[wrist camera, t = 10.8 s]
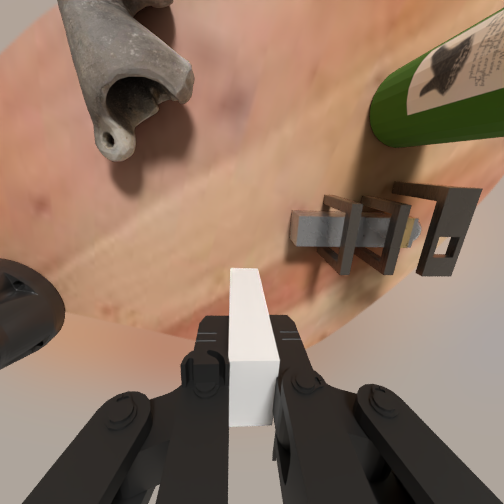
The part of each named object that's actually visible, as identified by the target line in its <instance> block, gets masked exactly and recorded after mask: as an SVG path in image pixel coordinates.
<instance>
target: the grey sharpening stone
mask: <svg viewBox="0 0 504 504" xmlns="http://www.w3.org/2000/svg"><path fill="white" fill-rule="evenodd" d="M390 218H391V214H390V213H387V212H383V213H382V212H362V213H361V218H360V223H359V229H358V234H357V239H356V244H355V247H384V243H385V239H386V235H387V231H388V227H389V222H390ZM344 219H345V212H339V211H297V210H292V214H291V225H290V236H289V238H290V239H291V240H292V242H293V243H294V244H295V245H296V246H316V247H340V242H341V237H342V231H343V225H344ZM418 220H419V219H418V218H415V217H411V216H408V220H407V224H406V228H405V232H404V235H403V239H402V243H401V247H400V248H407V247H411V245H412V241H414V240H416V239H417V238H418V237H419V235H420V233H421V224H420V222H419V221H418Z"/></svg>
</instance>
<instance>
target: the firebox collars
mask: <svg viewBox="0 0 504 504" xmlns="http://www.w3.org/2000/svg"><path fill="white" fill-rule="evenodd" d="M481 192H482V189H481V188H465V187H454V186H444V185H433V184H423V183H412V182H396V181H395V182H394V187H393V191H392V193H394V194H400V195H405V196H411V197H417V198H422V199H428V200H434V201H437V203H436V206H435V209H434V213H433V216H432V219H431V223H430V226H429V229H428V233H427V236H426V239H425V243H424V246H423V249H422V253H421V256H420V259H419V263H418V266H417V269H416V273H417V274H419V275H421V276H451V275H452V272H453V269H454V267H455V264H456V261H457V258H458V255H459V253H460V250H461V247H462V245H463V242H464V239H465V236H466V233H467V230H468V228H469V225H470V222H471V219H472V216H473V214H474V211H475V208H476V206H477V203H478V200H479V197H480V194H481ZM323 204H326V205H328V206H331V207H333V208H335V209H338V210H340V211H342V212H345V219H344V225H343V231H342V237H341V242H340V248H339V254H337V253H336V252H334V251H333V250H332V249H331V248H330V247H317V252H318V253H319V254H320V255H321V256H322V257H323V258H324V259H325V260H326V261H327V263H328V264H329V265H330V266H331V267H332V268H333V269H334V270H335V271H336V272H337V273H338V274H339V275H349V274H350V269H351V264H352V259H353V254H355V255H357V256H358V257H359V258H361V259H362V260H364V261H365V262H366V263H368V264H369V265H370V266H372V267H373V268H375V269H376V270H377V271H379V272H380V273H382V274H383V275H393V273H394V269H395V265H396V262H397V258H398V254H399V250H400V247H401V243H402V239H403V235H404V232H405V228H406V224H407V220H408V216H409V213H410V209H411V205H408V204H403V203H399V202H394V201H390V200H385V199H381V198H376V197H372V196H362V200H361V203H358V202H355V201H351V200H348V199H345V198H341V197H338V196H334V195H324V203H323ZM363 205H364V206H367V207H371V208H374V209H377V210H380V211H384V212H387V213H390V214H391V218H390V222H389V227H388V231H387V235H386V239H385V243H384V247H383V251H382V256H381V257H380V256H379V255H377V254H375V253H374V252H372V251H370V250H369V249H367V248H366V247H355V244H356V239H357V234H358V229H359V223H360V218H361V213H362V208H363ZM439 237H451V239H450V242H449V245H448V248H447V251H446V254H445V255H444V254H443V255H442V254H439V255H438V254H434V252H435V249H436V246H437V243H438V240H439Z"/></svg>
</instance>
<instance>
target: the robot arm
mask: <svg viewBox="0 0 504 504" xmlns="http://www.w3.org/2000/svg"><path fill="white" fill-rule="evenodd" d="M64 319H65V310H64V305H63V302H62V299H61V297H60V295H59V294H58V292H57V290H56V289H55V288H54V287H53V285H52V284H51V283H50V282H49V281H48V280H47V279H46V278H44V277H43V276H42V275H41V274H39V273H38V272H36V271H35V270H33V269H31V268H29V267H27V266H25V265H23V264H20V263H18V262H15V261H11V260H7V259H1V258H0V369H2V368H4V367H6V366H8V365H10V364H12V363H14V362H16V361H18V360H20V359H22V358H24V357H26V356H28V355H30V354H32V353H34V352H36V351H37V350H39V349H41V348H42V347H44V346H45V345H46V344H47V343H48V342H49V341H50V340H51V339H52V338H53V337H55V336H56V335H57V333H58V332H59V331H60V330H61V328H62V326H63V323H64ZM181 380H182V385H181V386H179V387H178V388H177V389H175V390H174V391H173V392H170V393H168V394H165V395H163V396H159V397H156V398H153V399H150V400H149V399H148V398H147V396H146V395H145V394H142V393H140V392H125V393H122V394H118V395H116V396H115V397H113V398H111V399H110V400H108V401H106V402H105V403H104V404H103V405H102V406H101V407H100V408H99V409H98V410H97V411H96V413H95V414H94V415H93V416H92V418H91V419H90V420H89V421H88V423H87V424H86V425H85V426H84V428H83V429H82V430H81V431H80V432H79V434H78V435H77V436H76V438H75V439H74V440H73V441H72V442H71V444H70V445H69V446H68V447H67V448H66V450H65V451H64V452H63V453H62V455H61V456H60V457H59V458H58V460H57V461H56V462H55V463H54V465H53V466H52V467H51V468H50V469H49V471H48V472H47V473H46V474H45V476H44V477H43V478H42V479H41V481H40V482H39V483H38V484H37V486H36V487H35V488H34V489H33V491H32V492H31V493H30V494H29V495H28V497H27V498H26V499H25V500H24V502H23V503H22V504H148V503H149V500H150V498H151V496H152V493H153V491H154V489H155V486H157V485H159V484H160V487H159V491H158V495H157V500H156V504H228V447H229V445H228V444H229V427H239V426H264V425H272V421H273V417H274V423H275V429H276V431H275V439H274V447H273V459H272V460H273V461H276V458H277V465H278V472H279V478H280V486H281V492H282V499H283V504H503V503H502V502H501V501H500V500H499V499H498V498H497V497H496V496H495V495H494V493H493V492H492V491H491V490H490V489H489V488H488V487H487V486H486V485H485V484H484V483H483V482H482V481H481V480H480V479H479V478H478V477H477V476H476V475H475V474H474V473H473V472H472V471H471V470H470V469H469V468H468V467H467V466H466V465H465V464H464V463H463V462H462V461H461V460H460V459H459V458H458V457H457V456H456V455H455V453H453V451H452V450H451V449H450V448H449V447H448V446H447V445H446V444H445V443H444V442H443V441H442V440H441V439H440V438H439V437H438V436H437V435H436V434H435V433H434V432H433V431H432V430H431V429H430V428H429V427H428V426H427V425H426V424H425V423H424V422H423V421H422V420H421V419H420V418H419V417H418V416H417V414H416V413H415V412H414V411H413V410H412V409H410V407H409V406H408V405H407V404H406V403H405V402H404V401H403V400H402V399H401V398H400V397H398V396H397V395H396V394H395V393H394V392H392V391H391V390H389V389H387V388H385V387H382V386H379V385H375V384H365V385H363V386H362V387H360V388H359V390H358V393H357V394H355V393H352V392H348V391H344V390H340V389H337V388H334V387H332V386H330V385H328V384H326V382H325V381H324V379H323V378H322V376H321V375H319V374H318V373H317V372H316V371H314V370H313V368H312V366H311V364H310V361H309V359H308V356H307V353H306V351H305V348H304V345H303V343H302V340H301V338H300V335H299V333H298V330H297V328H296V325H295V322H294V321H293V320H292V319H291V318H290V317H288V316H287V315H269V313H268V309H267V305H266V301H265V297H264V293H263V288H262V284H261V280H260V276H259V272H258V269H254V268H230V307H229V316H205V318H204V319H203V320H202V321H201V322H200V323H199V328H198V334H197V338H196V342H195V347H194V351H191V352H190V353H189V354H188V355H186V356H185V357H184V359H183V361H182V363H181Z"/></svg>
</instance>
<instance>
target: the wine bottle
mask: <svg viewBox="0 0 504 504" xmlns="http://www.w3.org/2000/svg"><path fill="white" fill-rule="evenodd" d="M369 117H370V125H371V128H372V130H373V133H374V135H375V136H376V137H377V138H378V140H379V141H381V142H382V143H384V144H385V145H387V146H391V147H394V148H399V147H411V146H420V145H430V144H439V143H449V142H458V141H468V140H477V139H487V138H496V137H504V8H502V9H501V10H499V11H497V12H496V13H494V14H492V15H490V16H489V17H487V18H485V19H484V20H482V21H480V22H478V23H477V24H475V25H473V26H472V27H470V28H468V29H466V30H465V31H463V32H461V33H459V34H458V35H456V36H454V37H453V38H451V39H449V40H447V41H446V42H444V43H442V44H441V45H439V46H437V47H435V48H434V49H432V50H430V51H428V52H427V53H425V54H423V55H422V56H420V57H418V58H416V59H415V60H413V61H411V62H410V63H408V64H406V65H404V66H403V67H401V68H399V69H398V70H396V71H395V72H393V73H392V74H390V75H389V76H388V77H387V78H386V79H385V80H384V81H383V82H382V83H381V85H380V86H379V88H378V90H377V91H376V93H375V95H374V97H373V100H372V103H371V107H370V116H369Z"/></svg>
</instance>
